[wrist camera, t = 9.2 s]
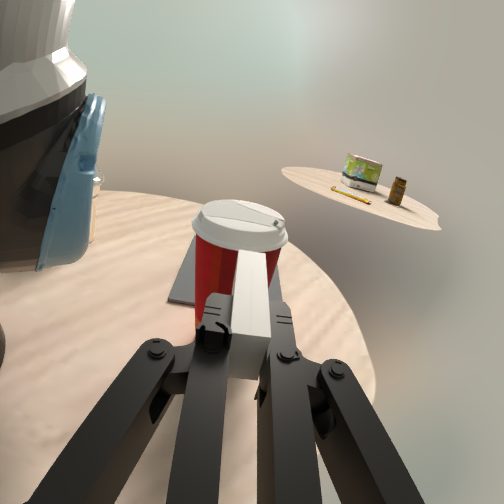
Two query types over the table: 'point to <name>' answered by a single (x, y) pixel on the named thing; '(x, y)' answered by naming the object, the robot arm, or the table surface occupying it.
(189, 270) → the mat
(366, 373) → the table surface
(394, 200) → the condiment
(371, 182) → the tea box
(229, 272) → the paper cup
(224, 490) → the table surface
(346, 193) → the candy bar
